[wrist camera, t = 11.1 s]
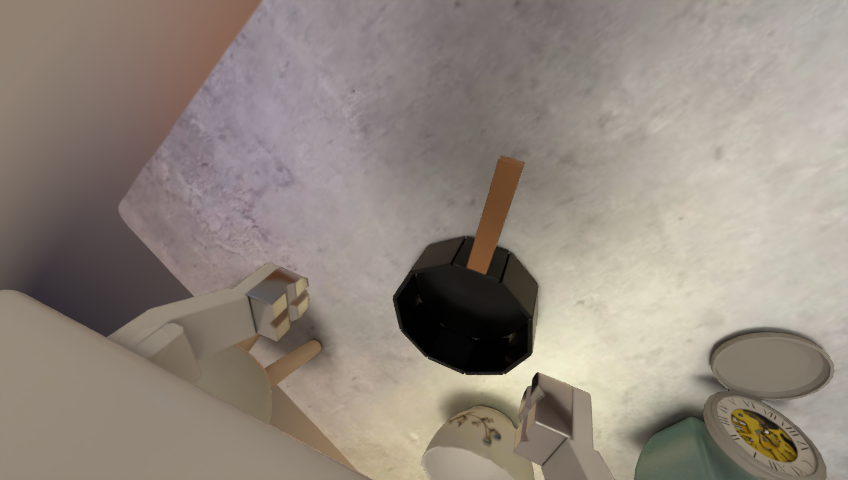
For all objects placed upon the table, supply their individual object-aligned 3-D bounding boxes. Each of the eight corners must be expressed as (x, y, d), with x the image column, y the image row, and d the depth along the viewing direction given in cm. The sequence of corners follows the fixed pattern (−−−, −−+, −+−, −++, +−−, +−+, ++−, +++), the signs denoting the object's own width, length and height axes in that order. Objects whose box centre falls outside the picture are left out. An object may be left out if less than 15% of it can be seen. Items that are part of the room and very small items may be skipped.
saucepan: (438, 120, 26) (415, 134, 22) (613, 167, 23) (620, 193, 19) (404, 311, 38) (386, 340, 34) (516, 357, 35) (509, 394, 31)
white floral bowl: (441, 374, 41) (416, 436, 35) (548, 404, 37) (542, 482, 31) (445, 441, 49) (425, 502, 42) (534, 473, 44) (527, 547, 38)
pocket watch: (820, 321, 23) (949, 474, 15) (832, 405, 25) (948, 573, 18) (676, 334, 27) (717, 458, 19) (698, 404, 30) (743, 540, 22)
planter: (349, 367, 48) (218, 562, 30) (268, 350, 55) (121, 502, 37) (312, 275, 41) (110, 461, 23) (224, 268, 47) (13, 408, 30)
